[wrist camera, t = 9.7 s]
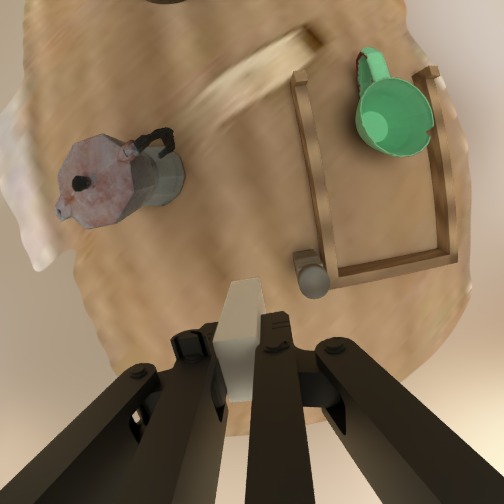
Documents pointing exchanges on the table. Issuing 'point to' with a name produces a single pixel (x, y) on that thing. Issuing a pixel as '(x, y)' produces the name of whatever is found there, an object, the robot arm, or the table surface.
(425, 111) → the mug
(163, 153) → the moka pot
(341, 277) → the bay
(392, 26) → the table surface
